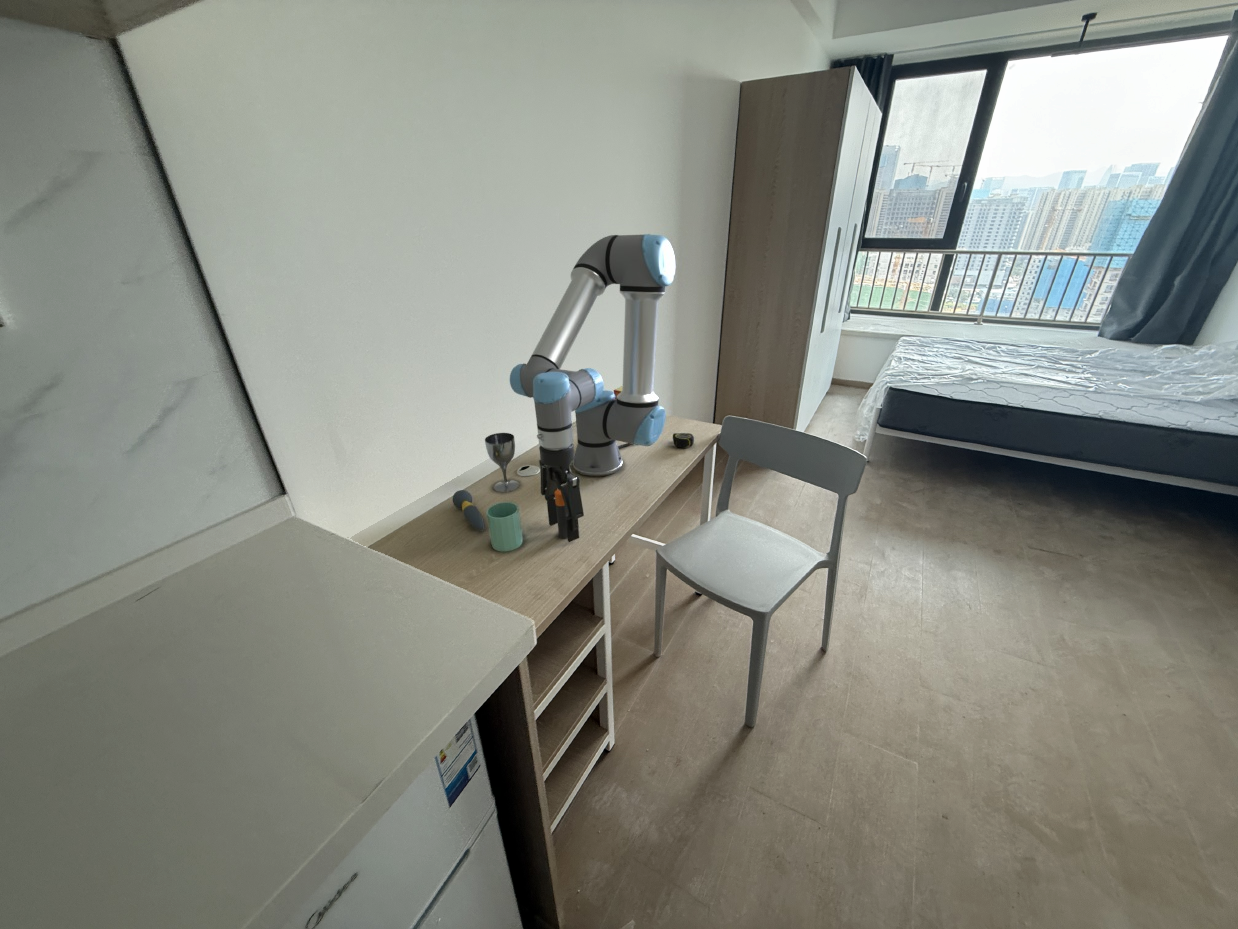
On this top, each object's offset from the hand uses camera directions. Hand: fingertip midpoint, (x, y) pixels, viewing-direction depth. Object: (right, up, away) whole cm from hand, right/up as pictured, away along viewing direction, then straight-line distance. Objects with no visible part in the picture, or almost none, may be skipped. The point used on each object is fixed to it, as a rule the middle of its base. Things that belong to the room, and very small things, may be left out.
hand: (563, 531), depth 116 cm
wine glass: (-19, +10, +24) cm, 32 cm away
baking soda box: (+17, +29, +61) cm, 69 cm away
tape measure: (+34, +22, +47) cm, 62 cm away
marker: (0, -1, +1) cm, 1 cm away
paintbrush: (-25, +3, +10) cm, 27 cm away
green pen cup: (-13, -3, -1) cm, 13 cm away
